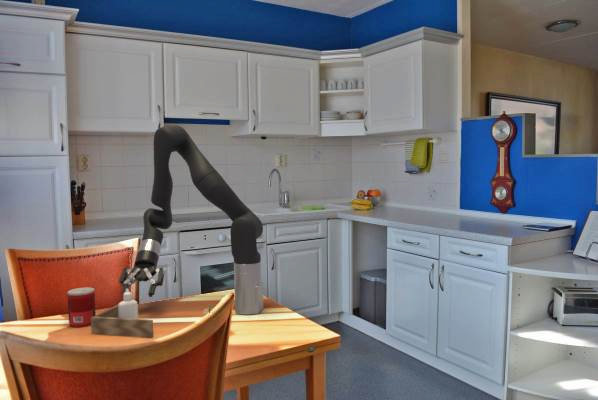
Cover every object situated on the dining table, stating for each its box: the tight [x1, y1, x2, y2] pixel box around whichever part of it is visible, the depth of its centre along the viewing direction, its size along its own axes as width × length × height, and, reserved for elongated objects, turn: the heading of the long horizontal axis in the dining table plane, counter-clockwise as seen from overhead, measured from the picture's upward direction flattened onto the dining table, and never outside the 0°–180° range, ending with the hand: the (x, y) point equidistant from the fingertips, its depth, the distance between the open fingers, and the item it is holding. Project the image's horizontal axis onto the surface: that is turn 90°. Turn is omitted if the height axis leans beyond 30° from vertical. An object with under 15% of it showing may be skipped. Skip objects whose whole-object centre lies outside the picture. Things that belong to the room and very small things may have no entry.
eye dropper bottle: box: [117, 288, 139, 319], centre depth 151 cm, size 4×6×12 cm
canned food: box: [67, 286, 97, 328], centre depth 155 cm, size 8×8×11 cm
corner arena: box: [90, 304, 154, 339], centre depth 152 cm, size 20×18×5 cm
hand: (137, 295), depth 159 cm, fingers open, 8 cm apart
